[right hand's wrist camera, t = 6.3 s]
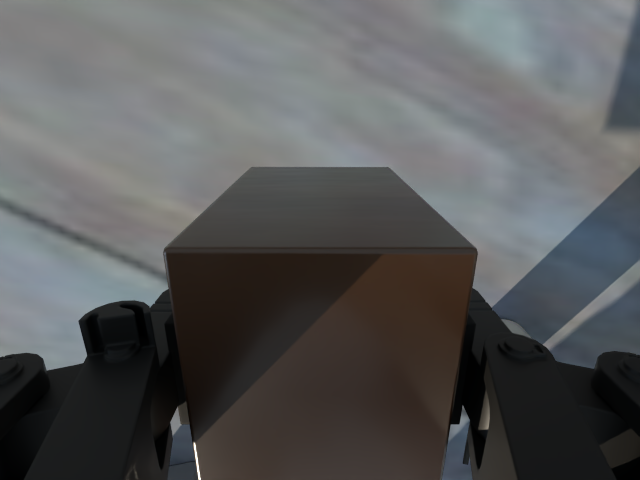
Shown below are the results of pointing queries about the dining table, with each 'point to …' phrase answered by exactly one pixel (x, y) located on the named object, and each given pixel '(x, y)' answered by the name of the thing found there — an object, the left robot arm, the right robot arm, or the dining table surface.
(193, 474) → the grey rubber block
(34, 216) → the dining table surface
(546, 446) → the right robot arm
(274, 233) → the walnut plank
